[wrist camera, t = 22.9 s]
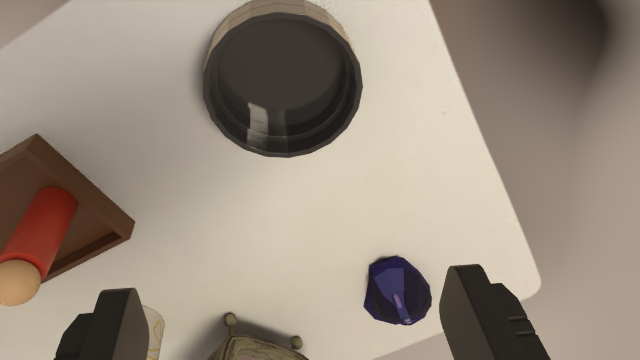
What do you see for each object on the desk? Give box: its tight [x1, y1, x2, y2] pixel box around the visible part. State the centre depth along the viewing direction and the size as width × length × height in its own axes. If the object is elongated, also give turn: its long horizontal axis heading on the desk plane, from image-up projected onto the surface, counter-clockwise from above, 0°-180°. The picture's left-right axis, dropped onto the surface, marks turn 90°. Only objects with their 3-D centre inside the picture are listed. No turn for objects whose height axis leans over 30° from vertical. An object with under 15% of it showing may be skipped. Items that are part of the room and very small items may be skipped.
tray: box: [0, 134, 135, 284], centre depth 49 cm, size 17×13×3 cm
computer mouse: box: [364, 257, 432, 325], centre depth 62 cm, size 9×15×4 cm, turn 21°
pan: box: [203, 0, 363, 158], centre depth 41 cm, size 13×13×4 cm
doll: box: [0, 187, 77, 306], centre depth 43 cm, size 4×4×12 cm
